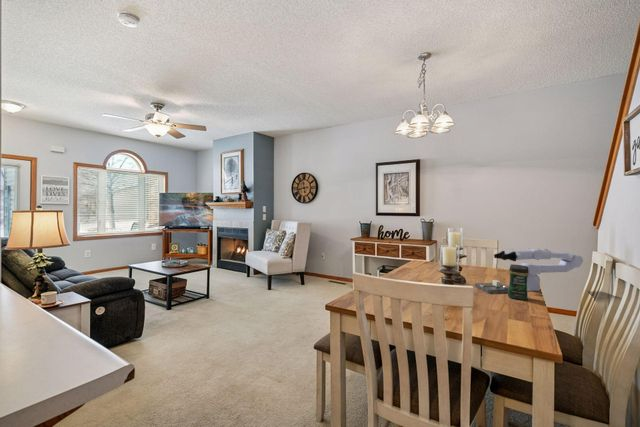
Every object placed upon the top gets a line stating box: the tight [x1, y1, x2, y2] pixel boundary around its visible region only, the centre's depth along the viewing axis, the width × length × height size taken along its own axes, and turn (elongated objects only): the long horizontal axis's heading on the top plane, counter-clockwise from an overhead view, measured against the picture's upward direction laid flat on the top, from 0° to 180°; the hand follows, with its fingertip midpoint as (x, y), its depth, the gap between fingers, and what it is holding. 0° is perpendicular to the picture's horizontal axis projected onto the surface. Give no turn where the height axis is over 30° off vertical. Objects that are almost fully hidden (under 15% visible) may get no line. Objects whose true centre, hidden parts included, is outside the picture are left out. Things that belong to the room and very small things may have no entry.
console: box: [474, 282, 509, 294], centre depth 203 cm, size 16×14×3 cm
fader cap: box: [491, 279, 501, 287], centre depth 203 cm, size 2×4×3 cm, turn 5°
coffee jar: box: [507, 264, 529, 300], centre depth 187 cm, size 10×8×19 cm
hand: (498, 256), depth 201 cm, fingers open, 7 cm apart
